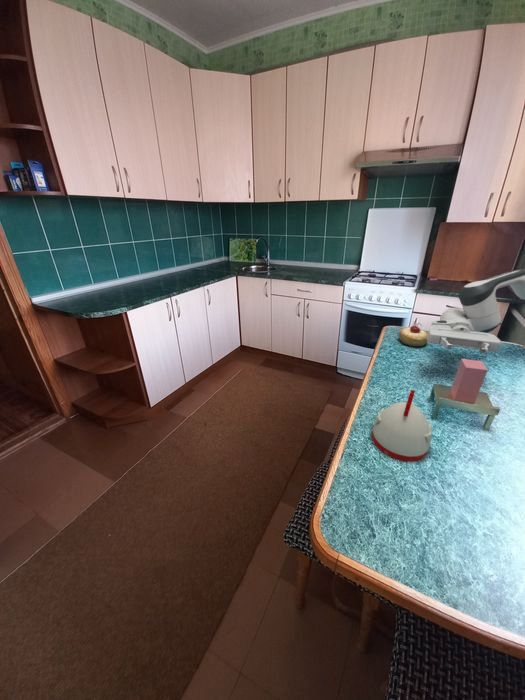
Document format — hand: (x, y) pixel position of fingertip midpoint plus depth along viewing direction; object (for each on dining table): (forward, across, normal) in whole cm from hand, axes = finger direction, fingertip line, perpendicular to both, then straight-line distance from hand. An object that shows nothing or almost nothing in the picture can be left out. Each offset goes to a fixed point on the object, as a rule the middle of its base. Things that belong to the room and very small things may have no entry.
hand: (466, 349), depth 90 cm
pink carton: (+12, +1, -10) cm, 16 cm away
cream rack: (+13, +1, -16) cm, 20 cm away
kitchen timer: (+30, +17, -16) cm, 38 cm away
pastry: (-36, +10, -16) cm, 40 cm away
